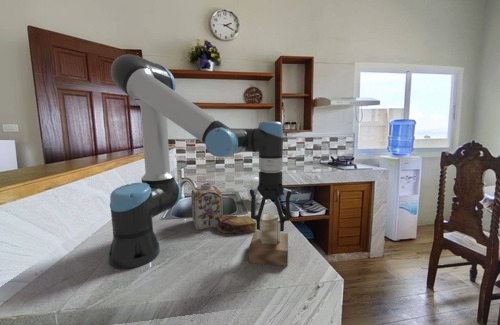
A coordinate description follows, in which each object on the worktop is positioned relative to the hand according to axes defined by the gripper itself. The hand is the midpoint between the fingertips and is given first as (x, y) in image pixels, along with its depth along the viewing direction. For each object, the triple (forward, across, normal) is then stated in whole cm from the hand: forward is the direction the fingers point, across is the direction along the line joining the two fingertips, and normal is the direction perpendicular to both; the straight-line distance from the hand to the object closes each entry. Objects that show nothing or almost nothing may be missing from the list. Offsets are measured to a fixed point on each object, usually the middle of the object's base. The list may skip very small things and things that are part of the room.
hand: (270, 239), depth 77 cm
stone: (+6, -15, +18) cm, 24 cm away
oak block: (0, 0, 0) cm, 0 cm away
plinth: (+5, 0, 0) cm, 5 cm away
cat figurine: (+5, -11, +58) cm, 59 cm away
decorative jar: (+5, -30, +22) cm, 37 cm away
